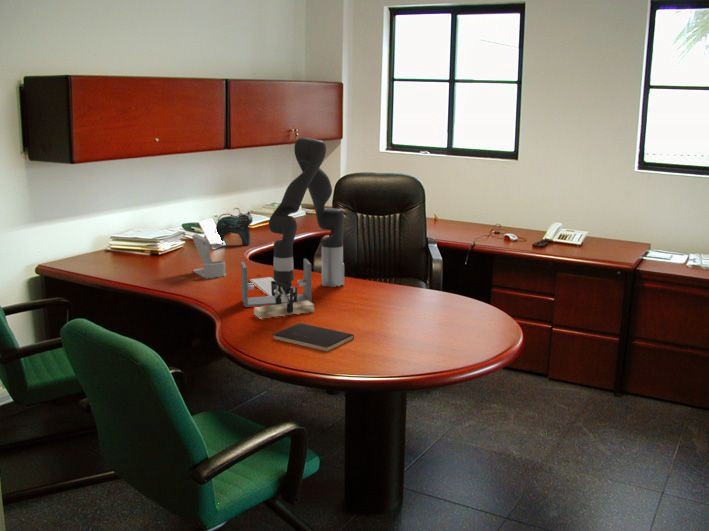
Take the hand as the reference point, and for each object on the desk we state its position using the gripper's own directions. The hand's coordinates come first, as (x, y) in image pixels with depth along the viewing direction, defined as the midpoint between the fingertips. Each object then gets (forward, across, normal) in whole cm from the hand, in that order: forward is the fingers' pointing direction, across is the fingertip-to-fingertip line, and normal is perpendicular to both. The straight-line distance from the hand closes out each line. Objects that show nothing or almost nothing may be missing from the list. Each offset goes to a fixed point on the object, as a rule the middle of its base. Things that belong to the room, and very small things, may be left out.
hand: (284, 310), depth 293 cm
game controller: (+2, -120, +50) cm, 130 cm away
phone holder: (+2, -72, +8) cm, 73 cm away
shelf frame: (+1, -15, +6) cm, 16 cm away
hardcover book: (+2, +30, -9) cm, 31 cm away
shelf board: (+2, 0, 0) cm, 2 cm away
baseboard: (+2, -34, +15) cm, 37 cm away
